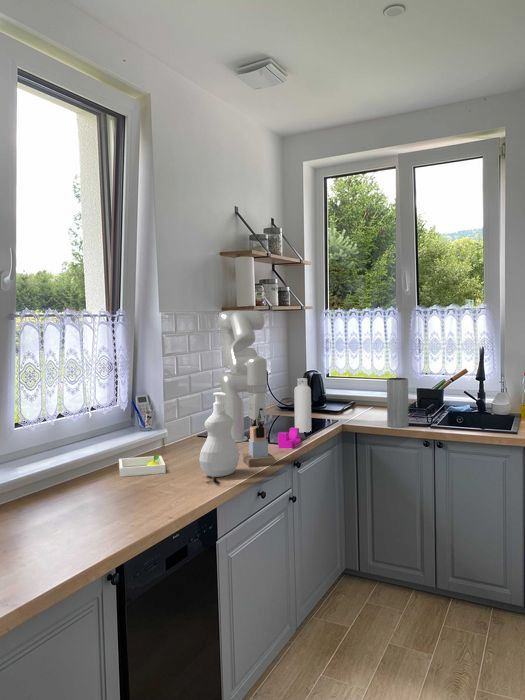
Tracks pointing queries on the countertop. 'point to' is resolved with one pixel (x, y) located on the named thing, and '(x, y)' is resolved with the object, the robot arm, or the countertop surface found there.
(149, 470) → the ceramic fruit dish rim
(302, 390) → the bottle
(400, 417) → the vase
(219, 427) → the soap bottle
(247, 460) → the walnut base plate
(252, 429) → the terracotta cube
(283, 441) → the toy block
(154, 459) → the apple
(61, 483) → the countertop surface
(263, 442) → the slate block
